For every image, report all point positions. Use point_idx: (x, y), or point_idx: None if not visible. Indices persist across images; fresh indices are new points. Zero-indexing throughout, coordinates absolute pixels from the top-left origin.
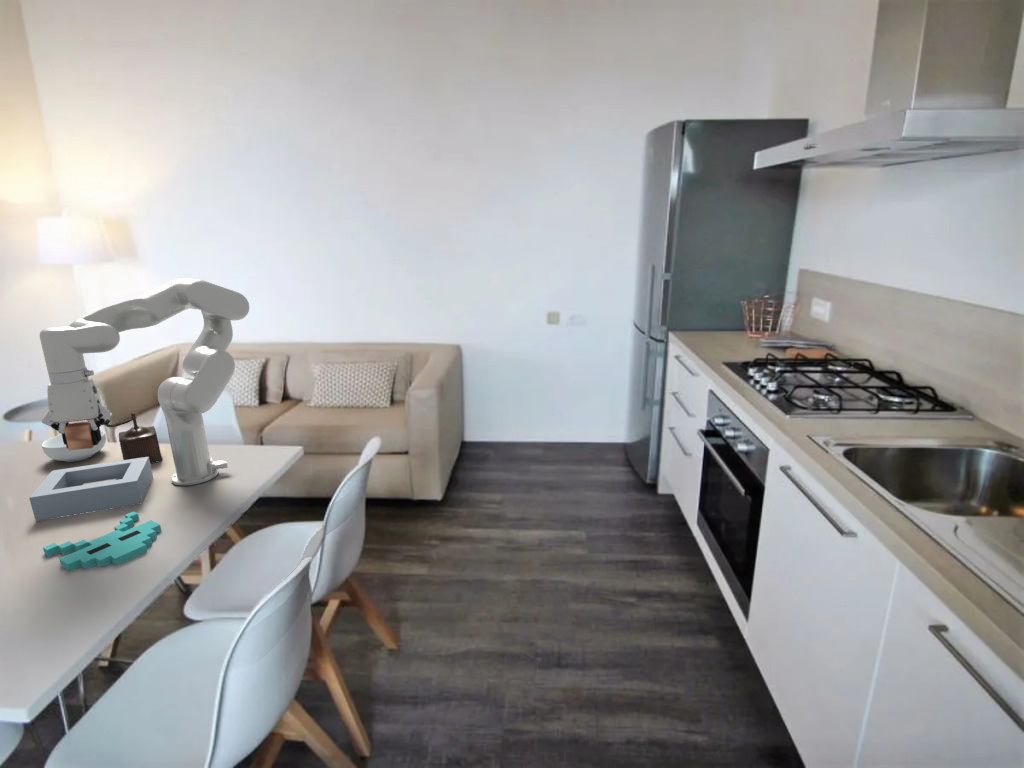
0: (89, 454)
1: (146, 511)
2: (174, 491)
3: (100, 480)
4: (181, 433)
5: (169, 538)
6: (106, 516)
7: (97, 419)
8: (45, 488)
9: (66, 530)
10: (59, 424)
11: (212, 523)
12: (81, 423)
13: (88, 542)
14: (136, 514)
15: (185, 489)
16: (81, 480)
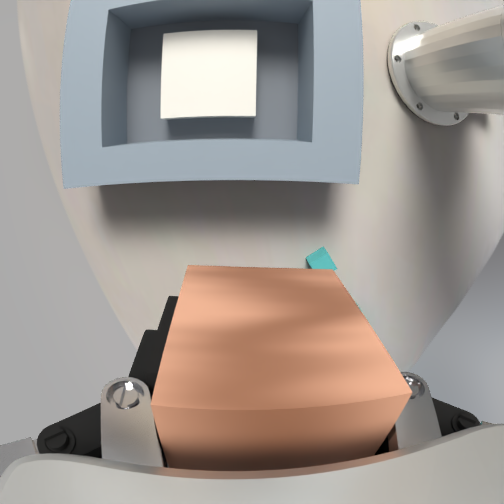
0: None
1: (345, 226)
2: (398, 134)
3: (206, 14)
4: None
5: None
6: (257, 212)
7: (434, 431)
8: (81, 128)
9: (182, 252)
10: (92, 453)
11: (434, 324)
12: (297, 466)
13: None
14: (333, 270)
15: (419, 137)
16: (154, 15)
